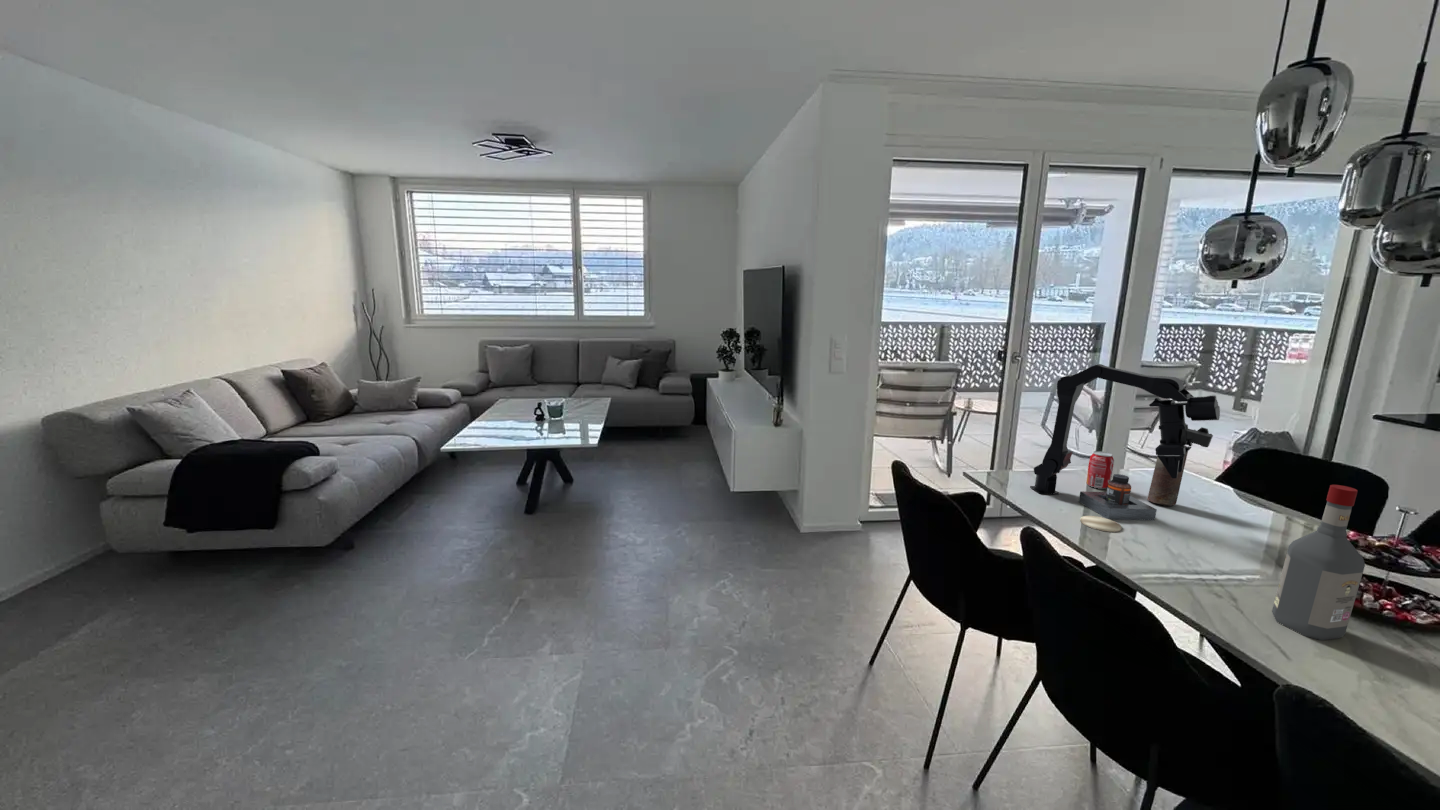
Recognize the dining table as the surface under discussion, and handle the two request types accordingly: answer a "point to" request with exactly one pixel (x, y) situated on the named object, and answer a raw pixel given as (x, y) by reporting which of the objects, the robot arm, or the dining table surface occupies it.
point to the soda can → (1100, 469)
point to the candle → (1165, 485)
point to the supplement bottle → (1118, 490)
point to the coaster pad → (1100, 523)
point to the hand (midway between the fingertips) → (1176, 475)
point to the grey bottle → (1321, 574)
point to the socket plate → (1117, 507)
